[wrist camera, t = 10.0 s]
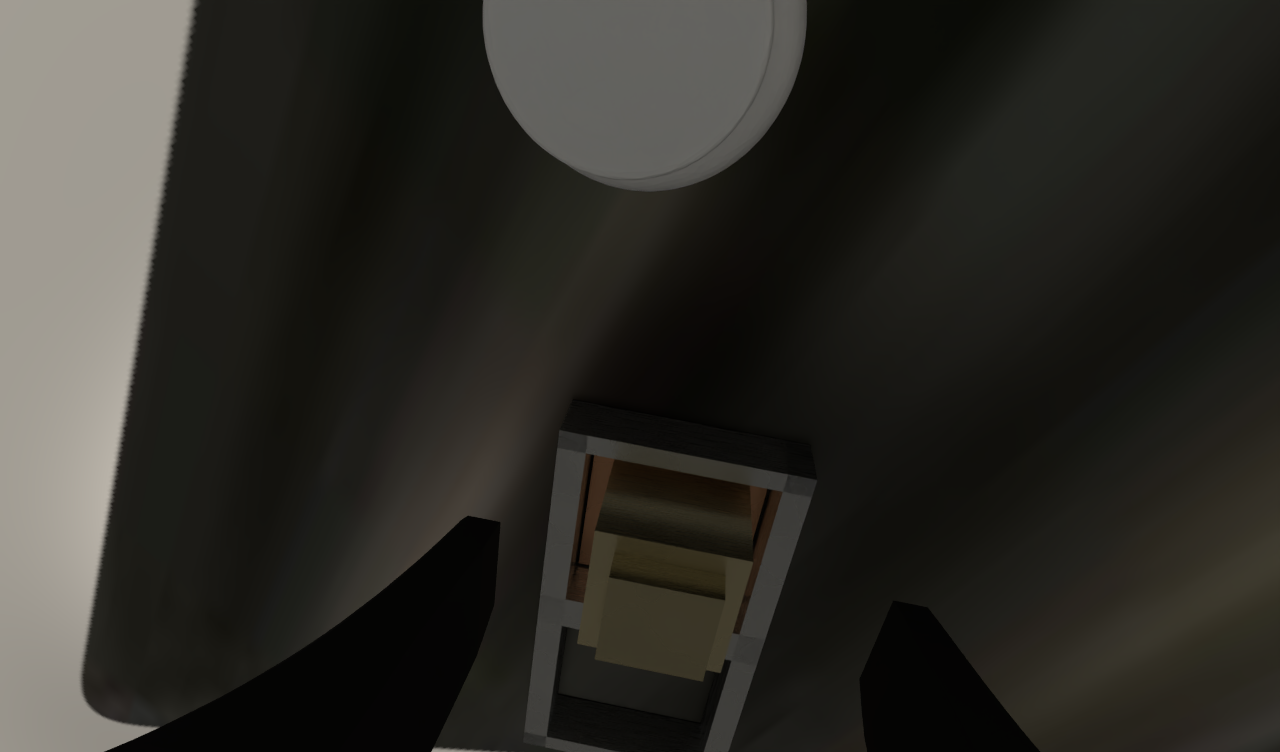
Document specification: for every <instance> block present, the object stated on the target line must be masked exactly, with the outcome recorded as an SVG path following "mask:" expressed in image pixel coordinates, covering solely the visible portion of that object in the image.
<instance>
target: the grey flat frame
mask: <svg viewBox="0 0 1280 752" xmlns="http://www.w3.org/2000/svg"><path fill="white" fill-rule="evenodd" d="M592 455H594V461H593V468H592V474H591V481H590V488H589V495H588V502H587V509H586V516H585V522H584V529H583V536H582V543H581V550H580V557H579V561H577V556H578V549H579V542H580V535H581V528H582V521H583V514H584V507H585V500H586V493H587V486H588V479H589V472H590V465H591V458H592ZM614 459H617V460H623V461H628V462H633V463H638V464H643V465H648V466H653V467H658V468H664V469H669V470H674V471H679V472H684V473H689V474H694V475H699V476H705V477H710V478H715V479H720V480H725V481H730V482H735V483H740V484H746V485H750V496H751V518H752V541H753V537H754V534H755V530H756V527H757V524H758V520H759V517H760V513H761V510H762V506H763V503H764V499H765V496H766V493H767V489H769V492H768V495H767V499H766V502H765V505H764V509H763V512H762V516H761V519H760V523H759V526H758V529H757V533H756V536H755V540H754V543H753V565H752V569H751V572H750V575H749V579H748V582H747V586H746V589H745V592H744V596H743V599H742V602H741V606H740V609H739V613H738V616H737V619H736V623H735V626H734V630H733V633H732V636H731V640H730V643H729V646H728V650H727V653H726V657H725V660H724V663H723V667H722V670H721V673H718V672H716V673H715V677H714V680H713V684H712V687H711V690H710V694H709V697H708V701H707V704H706V708H705V711H704V714H703V718H702V721H701V724H698V723H693V722H688V721H683V720H678V719H674V718H669V717H664V716H659V715H654V714H650V713H645V712H640V711H635V710H630V709H626V708H621V707H616V706H611V705H606V704H602V703H597V702H592V701H587V700H582V699H578V698H573V697H568V696H563V695H558V687H559V681H560V674H561V667H562V660H563V653H564V646H565V639H566V632H567V627H570V628H575V629H579V630H580V623H581V617H582V610H583V604H584V597H585V591H586V584H587V578H588V571H589V565H590V558H591V552H592V545H593V539H594V533H595V528H596V524H597V521H598V517H599V513H600V510H601V506H602V503H603V499H604V495H605V492H606V488H607V484H608V481H609V477H610V473H611V470H612V466H613V462H614ZM816 483H817V475H816V470H815V465H814V460H813V455H812V450H811V445H806V444H800V443H795V442H790V441H785V440H780V439H774V438H769V437H764V436H759V435H754V434H748V433H743V432H738V431H733V430H728V429H722V428H717V427H712V426H707V425H702V424H696V423H691V422H686V421H681V420H676V419H670V418H665V417H660V416H655V415H650V414H644V413H639V412H634V411H629V410H624V409H618V408H613V407H608V406H603V405H598V404H592V403H587V402H582V401H577V400H572V403H571V405H570V407H569V410H568V412H567V414H566V416H565V419H564V421H563V423H562V426H561V428H560V430H559V439H558V448H557V456H556V465H555V474H554V482H553V491H552V499H551V508H550V517H549V525H548V534H547V542H546V551H545V560H544V568H543V577H542V585H541V594H540V603H539V611H538V620H537V629H536V637H535V646H534V654H533V663H532V672H531V680H530V689H529V697H528V706H527V715H526V723H525V732H524V740H523V742H524V743H528V744H533V745H538V746H543V747H547V748H552V749H557V750H562V751H566V752H728V751H729V748H730V745H731V742H732V739H733V736H734V733H735V730H736V727H737V723H738V720H739V717H740V714H741V711H742V708H743V705H744V702H745V699H746V696H747V693H748V690H749V687H750V684H751V681H752V678H753V675H754V672H755V669H756V666H757V663H758V660H759V657H760V654H761V650H762V647H763V644H764V641H765V638H766V635H767V632H768V629H769V626H770V623H771V620H772V617H773V614H774V611H775V608H776V605H777V602H778V599H779V596H780V593H781V590H782V587H783V584H784V581H785V577H786V574H787V571H788V568H789V565H790V562H791V559H792V556H793V553H794V550H795V547H796V544H797V541H798V538H799V535H800V532H801V529H802V526H803V523H804V520H805V517H806V514H807V511H808V507H809V504H810V501H811V498H812V495H813V492H814V489H815V486H816Z"/></svg>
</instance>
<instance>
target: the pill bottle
mask: <svg viewBox="0 0 1280 752" xmlns="http://www.w3.org/2000/svg"><path fill="white" fill-rule="evenodd" d="M806 26H807V2H806V0H483V33H484V40H485V47H486V52H487V56H488V61H489V64H490V67H491V70H492V74H493V76H494V79H495V82H496V85H497V87H498V89H499V91H500V93H501V95H502V97H503V100H504V102H505V103H506V105H507V107H508V108H509V110H510V111H511V113H512V115H513V116H514V118H515V119H516V120H517V122H518V123H519V124H520V125H521V127H522V128H523V129H524V130H525V131H526V133H527V134H528V135H529V136H530V137H531V138H532V139H533V140H534V141H535V142H536V143H537V144H538V145H539V146H541V147H542V148H543V149H544V150H546V151H547V152H548V153H550V154H551V155H552V156H554V157H555V158H557V159H558V160H560V161H562V162H563V163H565V164H567V165H568V166H569V167H571V168H572V169H574V170H576V171H577V172H579V173H581V174H583V175H585V176H587V177H589V178H590V179H593V180H595V181H598V182H600V183H603V184H606V185H609V186H613V187H616V188H621V189H626V190H632V191H647V192H653V191H664V190H672V189H677V188H681V187H685V186H689V185H692V184H695V183H698V182H700V181H703V180H705V179H708V178H710V177H712V176H714V175H716V174H718V173H719V172H721V171H723V170H724V169H726V168H728V167H729V166H730V165H732V164H733V163H735V162H736V161H737V160H739V159H740V158H741V157H742V156H744V155H745V154H746V153H747V152H748V151H749V150H750V149H751V148H752V147H753V146H754V145H755V144H756V143H757V142H758V141H759V140H760V139H761V138H762V137H763V136H764V134H765V133H766V132H767V131H768V129H769V128H770V126H771V125H772V123H773V122H774V121H775V119H776V118H777V116H778V115H779V113H780V111H781V109H782V108H783V106H784V104H785V102H786V100H787V98H788V96H789V94H790V92H791V90H792V87H793V85H794V82H795V79H796V76H797V73H798V70H799V66H800V63H801V60H802V55H803V49H804V44H805V35H806Z"/></svg>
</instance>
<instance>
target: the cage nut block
mask: <svg viewBox="0 0 1280 752" xmlns="http://www.w3.org/2000/svg"><path fill="white" fill-rule="evenodd" d="M752 565H753V541H752V518H751V496H750V485H746V484H740V483H735V482H730V481H725V480H720V479H715V478H710V477H705V476H699V475H694V474H689V473H684V472H679V471H674V470H669V469H664V468H658V467H653V466H648V465H643V464H638V463H633V462H628V461H623V460H617V459H614V462H613V466H612V470H611V473H610V477H609V481H608V484H607V488H606V492H605V495H604V499H603V503H602V506H601V510H600V513H599V517H598V521H597V524H596V528H595V533H594V539H593V545H592V552H591V558H590V565H589V571H588V578H587V584H586V591H585V597H584V604H583V610H582V617H581V623H580V630H579V636H578V643H577V644H581V645H586V646H591V647H596V648H597V649H596V655H595V659H596V660H600V661H605V662H610V663H615V664H620V665H625V666H630V667H635V668H639V669H644V670H649V671H654V672H659V673H664V674H669V675H673V676H678V677H683V678H688V679H693V680H698V681H703V679H704V675H705V671H706V670H708V671H713V672H718V673H721V670H722V667H723V663H724V660H725V657H726V653H727V650H728V646H729V643H730V640H731V636H732V633H733V630H734V626H735V623H736V619H737V616H738V613H739V609H740V606H741V602H742V599H743V596H744V592H745V589H746V586H747V582H748V579H749V575H750V572H751V569H752Z"/></svg>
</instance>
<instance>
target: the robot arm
mask: <svg viewBox="0 0 1280 752" xmlns="http://www.w3.org/2000/svg"><path fill="white" fill-rule="evenodd" d="M499 534H500V522H497V521H492V520H487V519H482V518H477V517H472V516H467V517H465V518H464V519H462V520H461V521H460V522H459V523H458V524H457V525H456V526H455V527H454V528H453V529H452V530H450V531H449V532H448V533H447V534H446V535H445V536H444V537H443V538H442V539H441V540H440V541H439V542H438V543H437V544H436V545H435V546H433V547H432V548H431V549H430V550H429V551H428V552H427V553H426V554H425V555H423V556H422V557H421V558H420V559H419V560H418V561H417V562H416V563H415V564H413V565H412V566H411V567H410V568H409V569H407V570H406V571H405V572H404V573H403V574H402V575H400V576H399V577H398V578H397V579H396V580H394V581H393V582H392V583H391V584H390V585H389V586H387V587H386V588H385V589H384V590H382V591H381V592H380V593H379V594H377V595H376V596H375V597H374V598H372V599H371V600H370V601H368V602H367V603H366V604H364V605H363V606H362V607H360V608H359V609H358V610H357V611H355V612H354V613H353V614H351V615H350V616H349V617H347V618H346V619H345V620H343V621H342V622H341V623H339V624H338V625H336V626H335V627H334V628H332V629H331V630H329V631H328V632H327V633H325V634H324V635H322V636H321V637H319V638H318V639H316V640H315V641H313V642H312V643H310V644H309V645H307V646H306V647H304V648H303V649H301V650H300V651H298V652H297V653H295V654H293V655H292V656H290V657H289V658H287V659H286V660H284V661H282V662H281V663H279V664H277V665H276V666H274V667H272V668H271V669H269V670H267V671H265V672H264V673H262V674H260V675H259V676H257V677H255V678H254V679H252V680H250V681H249V682H247V683H245V684H243V685H242V686H240V687H238V688H236V689H234V690H233V691H231V692H229V693H227V694H225V695H223V696H222V697H220V698H218V699H216V700H214V701H212V702H210V703H208V704H206V705H204V706H202V707H200V708H198V709H196V710H194V711H192V712H190V713H188V714H186V715H184V716H182V717H180V718H178V719H176V720H174V721H172V722H170V723H168V724H166V725H164V726H162V727H160V728H158V729H156V730H153V731H151V732H149V733H147V734H145V735H143V736H140V737H138V738H136V739H134V740H131V741H129V742H127V743H124V744H122V745H119V746H117V747H115V748H112V749H110V750H107V751H105V752H431V751H432V749H433V747H434V745H435V743H436V741H437V739H438V737H439V735H440V733H441V730H442V728H443V726H444V724H445V722H446V720H447V718H448V716H449V714H450V712H451V709H452V707H453V705H454V703H455V701H456V699H457V697H458V695H459V693H460V690H461V688H462V686H463V684H464V682H465V680H466V678H467V676H468V673H469V671H470V669H471V667H472V665H473V663H474V661H475V658H476V656H477V653H478V650H479V648H480V645H481V642H482V639H483V636H484V633H485V630H486V627H487V624H488V622H489V619H490V616H491V613H492V610H493V607H494V600H495V587H496V574H497V561H498V548H499ZM860 692H861V706H862V717H863V727H864V737H865V742H866V747H867V752H1040V751H1039V750H1038V749H1037V748H1036V746H1035V745H1034V744H1033V743H1032V742H1031V741H1030V739H1029V738H1028V737H1027V736H1026V735H1025V733H1024V732H1023V731H1022V730H1021V728H1020V727H1019V726H1018V725H1017V724H1016V722H1015V721H1014V720H1013V719H1012V717H1011V716H1010V715H1009V714H1008V712H1007V711H1006V710H1005V709H1004V707H1003V706H1002V705H1001V703H1000V702H999V701H998V700H997V698H996V697H995V696H994V695H993V693H992V692H991V691H990V689H989V688H988V687H987V685H986V684H985V683H984V682H983V680H982V679H981V678H980V676H979V675H978V674H977V672H976V671H975V670H974V668H973V667H972V666H971V664H970V663H969V662H968V660H967V659H966V658H965V656H964V655H963V654H962V652H961V651H960V650H959V648H958V647H957V646H956V644H955V643H954V642H953V640H952V639H951V638H950V636H949V635H948V634H947V632H946V631H945V630H944V628H943V627H942V626H941V624H940V623H939V622H938V620H937V619H936V618H935V616H934V615H933V614H932V612H931V611H930V610H929V609H928V607H923V606H918V605H913V604H908V603H903V602H898V601H893V603H892V605H891V607H890V610H889V612H888V614H887V617H886V619H885V621H884V624H883V626H882V628H881V631H880V633H879V635H878V638H877V640H876V642H875V644H874V647H873V649H872V651H871V654H870V656H869V658H868V661H867V663H866V665H865V668H864V670H863V672H862V675H861V677H860Z"/></svg>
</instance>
